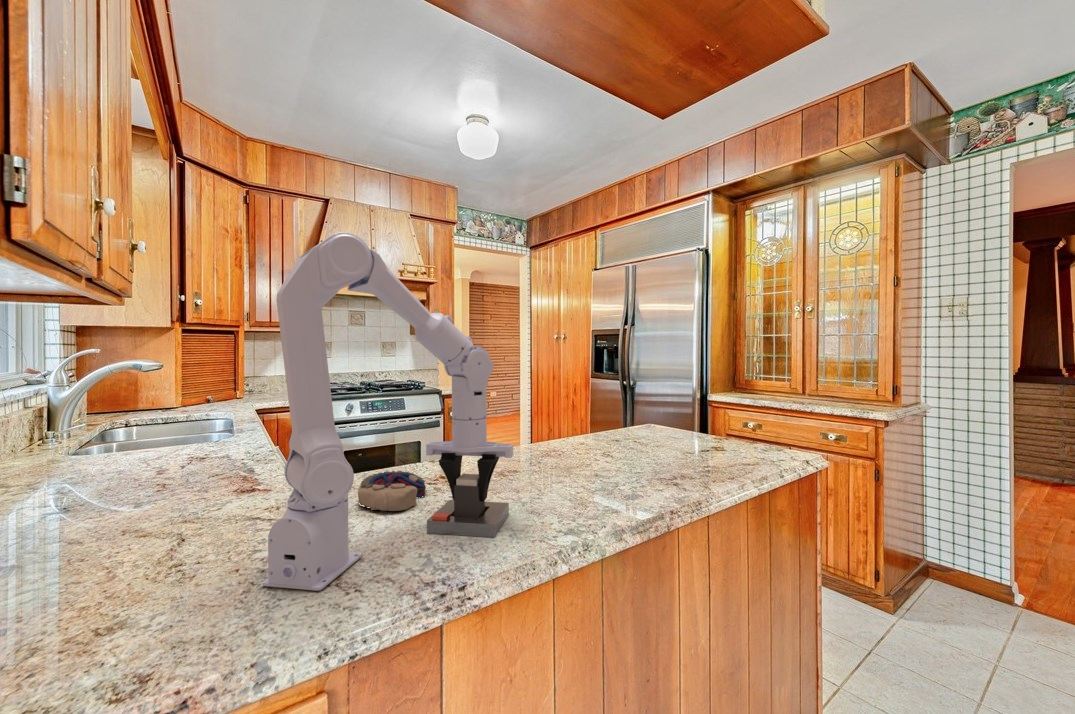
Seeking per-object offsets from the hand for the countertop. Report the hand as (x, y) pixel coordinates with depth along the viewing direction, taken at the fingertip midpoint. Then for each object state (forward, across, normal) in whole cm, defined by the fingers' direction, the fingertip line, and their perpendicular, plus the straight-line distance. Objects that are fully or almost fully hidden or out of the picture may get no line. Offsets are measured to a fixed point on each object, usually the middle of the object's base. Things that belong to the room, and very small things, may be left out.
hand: (470, 498), depth 74 cm
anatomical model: (+5, +18, -9) cm, 21 cm away
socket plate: (+4, 0, 0) cm, 4 cm away
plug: (+2, 0, 0) cm, 2 cm away
